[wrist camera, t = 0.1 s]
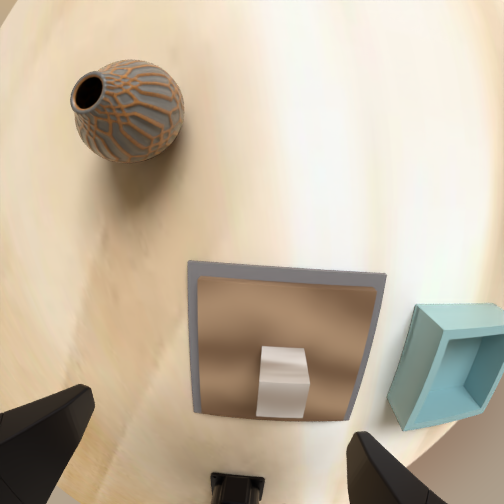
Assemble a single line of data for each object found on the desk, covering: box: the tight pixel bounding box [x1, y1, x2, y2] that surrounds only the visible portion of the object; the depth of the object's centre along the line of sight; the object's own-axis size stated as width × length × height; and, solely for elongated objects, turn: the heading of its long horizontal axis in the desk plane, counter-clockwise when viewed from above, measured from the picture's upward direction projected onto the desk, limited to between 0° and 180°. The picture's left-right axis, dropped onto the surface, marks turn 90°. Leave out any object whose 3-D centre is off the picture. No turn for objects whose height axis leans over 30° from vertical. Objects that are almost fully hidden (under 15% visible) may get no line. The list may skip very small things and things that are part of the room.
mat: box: [188, 260, 387, 420], centre depth 23 cm, size 15×15×1 cm
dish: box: [387, 303, 504, 431], centre depth 20 cm, size 10×10×5 cm
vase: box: [70, 60, 184, 163], centre depth 15 cm, size 7×7×9 cm
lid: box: [197, 276, 377, 421], centre depth 20 cm, size 13×13×6 cm
